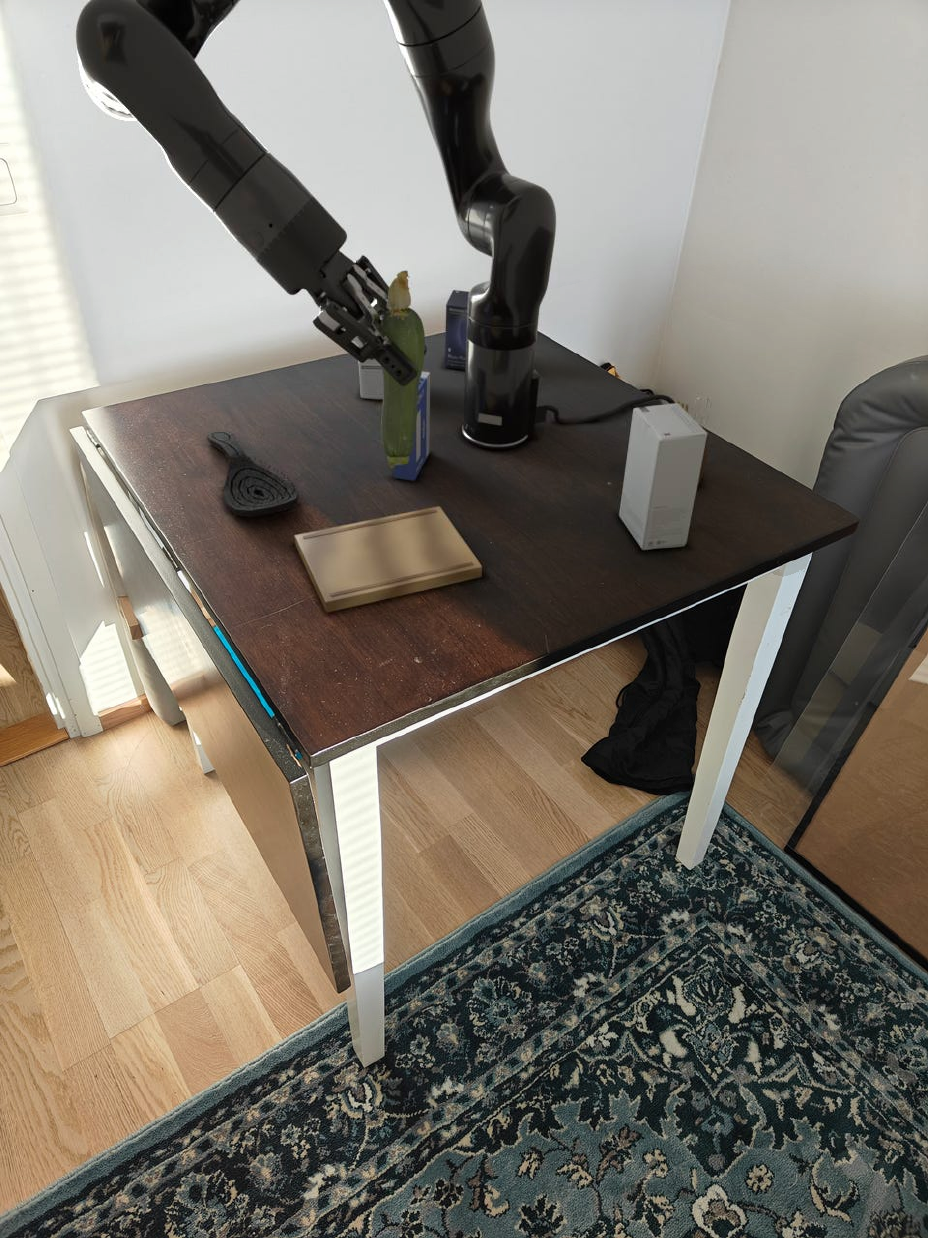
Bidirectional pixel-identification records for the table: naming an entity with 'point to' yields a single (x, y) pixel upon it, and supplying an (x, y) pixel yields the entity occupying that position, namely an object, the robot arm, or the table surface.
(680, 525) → the cosmetic box
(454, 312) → the small box
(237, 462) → the hairbrush
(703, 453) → the utensil holder
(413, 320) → the vegetable
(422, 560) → the cutting board
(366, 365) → the syrup box
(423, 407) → the walkman
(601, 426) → the table surface
